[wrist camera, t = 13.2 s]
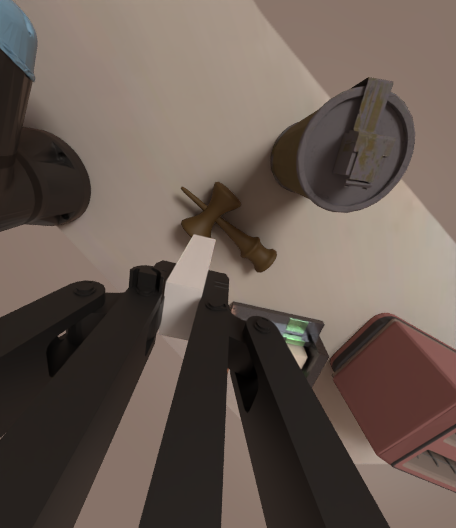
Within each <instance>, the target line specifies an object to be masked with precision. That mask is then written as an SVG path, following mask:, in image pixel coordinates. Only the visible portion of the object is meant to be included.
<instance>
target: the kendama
mask: <svg viewBox="0 0 456 528" xmlns="http://www.w3.org/2000/svg"><path fill="white" fill-rule="evenodd" d="M181 190H182V191H183V192H184V193H185V194H186V195H187V196H188V197H189V198H190V199H191V200H193V201H194V202H195V203H196V204H197V205H198V206H199V207H200V208H201V209H202V210H203V212H202V213H200V214H199V215H197V216H194V217H190V218H187V219H184V220H182V222H181V225H182V227H183V229H184V230H185V231H186V232H187V234H188V235H189V236H191V237H192V236H193V235H194V234H195V235H199V236H203V237H207V238H211V230H212V227H213V225H214V223H215V222H216V223H217V224H218V225H219V226H220V227H221V228H222V229H223V230H224V231H225V232H226V233H227V234H228V236H229V237H230V238H231V239H232V240H233V241H234V242H235V244H236V245H237V246H238V247H239V249H240V251H241V257H242V258H248V259H249V260H250V261H251V262H252V263H253V264H254V267H255V270H256V272H263V271H265V270H266V269H268V268H269V267H270V266H271V265H272V264H273V262H274V261H275V259H276V256H277V253H276V251H275V250H274V249H266V248H265V247H264V246H263V245H262V244H261V243H260V239H259V238H258V237H251V236H248V235H247V234H245V233H243V232H242V231H240V230H239V229H237V228H236V227H234V226H233V225H231V224H230V223H229V222H227V221H226V220H224V219H223V218H222V217H221V215H223V214H224V213H226V212H228V211H231V210H234V209H237V208H239V207H240V206H241V202H240V201H239V199H238V198H237V197H236V196H235V195H234V194H233V193H232V192H231V191H230V190H229V189H228V188H227V187H226V186H224V185H223V184H222V183H220V182H215V184H214V188H213V193H212V198H211V201H210V203H209V204H208V206H207V205H206V204H204V203H203V202H202V201H201V200H199V199H198V198H197V197H196V196H195V195H193V194H192V193H191V192H190V191H188V190H187V189H186V188H184V187H181Z"/></svg>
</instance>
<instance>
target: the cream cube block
mask: <svg viewBox="0 0 456 528" xmlns="http://www.w3.org/2000/svg"><path fill="white" fill-rule="evenodd" d="M287 345H288V347H289V349H290V351H291V352H292V354H293V356H294V358H295V359H296V361H297V363H298V365H299V367H300V368H301V369H302V367H303V365H304V363H305V361H306V359H307V354H306V352H305V349H304V346H299V345H294V344H289V343H287Z"/></svg>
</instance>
